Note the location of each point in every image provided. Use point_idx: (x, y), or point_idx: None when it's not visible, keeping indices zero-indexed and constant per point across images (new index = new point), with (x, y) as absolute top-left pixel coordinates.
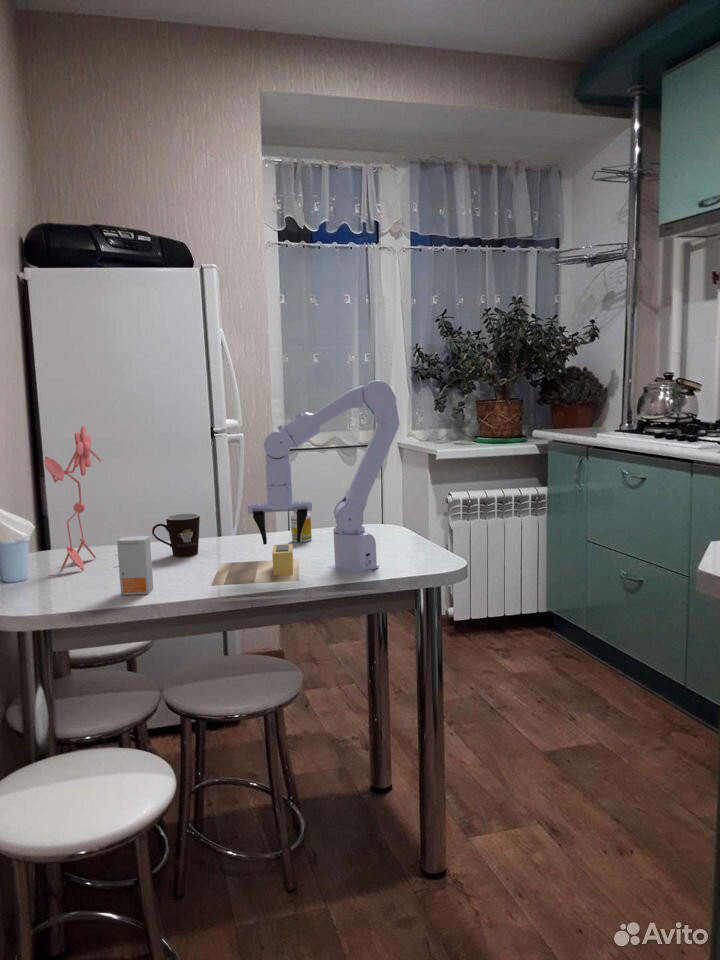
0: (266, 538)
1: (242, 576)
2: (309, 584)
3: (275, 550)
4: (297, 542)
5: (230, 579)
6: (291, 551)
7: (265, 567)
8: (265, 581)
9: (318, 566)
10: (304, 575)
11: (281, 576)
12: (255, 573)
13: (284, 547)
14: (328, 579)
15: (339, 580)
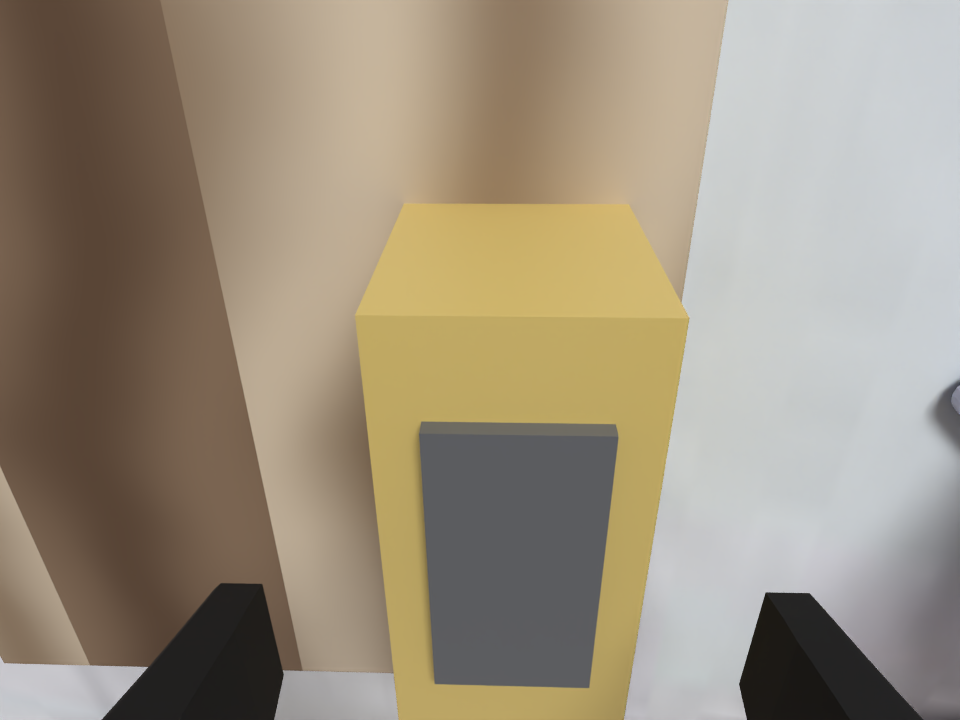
0: (244, 672)
1: (158, 520)
2: (687, 693)
3: (423, 621)
4: (745, 690)
5: (87, 571)
6: (622, 693)
7: (304, 265)
8: (380, 660)
9: (909, 229)
10: (690, 506)
11: None
12: (250, 460)
13: (542, 589)
14: (849, 629)
15: (916, 661)
